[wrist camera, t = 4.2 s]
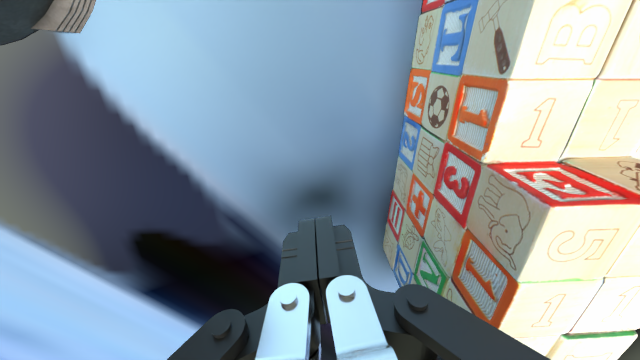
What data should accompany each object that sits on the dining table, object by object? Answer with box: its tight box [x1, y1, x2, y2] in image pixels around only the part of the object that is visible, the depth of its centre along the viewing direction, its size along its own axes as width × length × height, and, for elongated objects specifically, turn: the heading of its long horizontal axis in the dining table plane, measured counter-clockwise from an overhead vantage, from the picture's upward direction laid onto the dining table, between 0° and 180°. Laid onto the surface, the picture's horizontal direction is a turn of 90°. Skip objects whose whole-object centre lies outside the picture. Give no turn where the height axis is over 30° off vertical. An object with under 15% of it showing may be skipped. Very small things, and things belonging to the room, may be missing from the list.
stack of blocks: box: [383, 0, 640, 360], centre depth 13 cm, size 21×6×12 cm, turn 0°
